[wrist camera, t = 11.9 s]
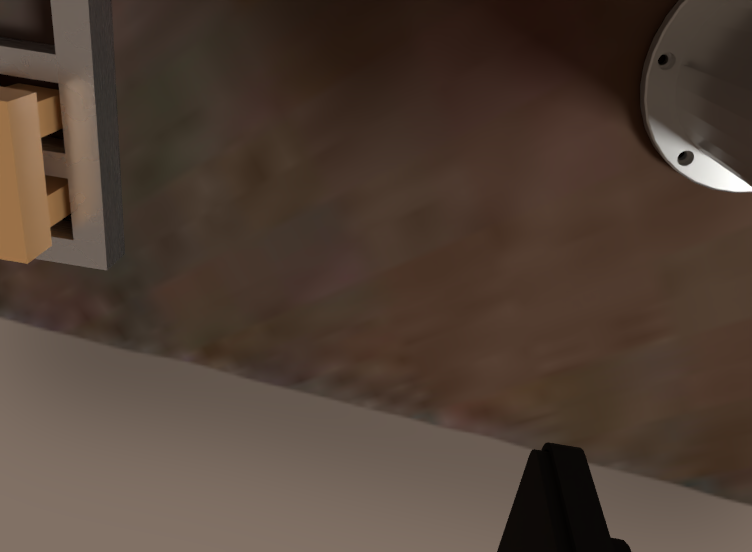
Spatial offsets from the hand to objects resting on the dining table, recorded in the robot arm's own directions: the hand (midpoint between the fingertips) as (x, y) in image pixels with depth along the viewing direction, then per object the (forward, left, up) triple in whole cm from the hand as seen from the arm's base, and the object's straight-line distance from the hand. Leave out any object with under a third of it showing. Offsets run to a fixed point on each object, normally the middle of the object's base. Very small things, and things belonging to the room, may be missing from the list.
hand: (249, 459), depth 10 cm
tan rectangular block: (+20, +6, -28) cm, 35 cm away
